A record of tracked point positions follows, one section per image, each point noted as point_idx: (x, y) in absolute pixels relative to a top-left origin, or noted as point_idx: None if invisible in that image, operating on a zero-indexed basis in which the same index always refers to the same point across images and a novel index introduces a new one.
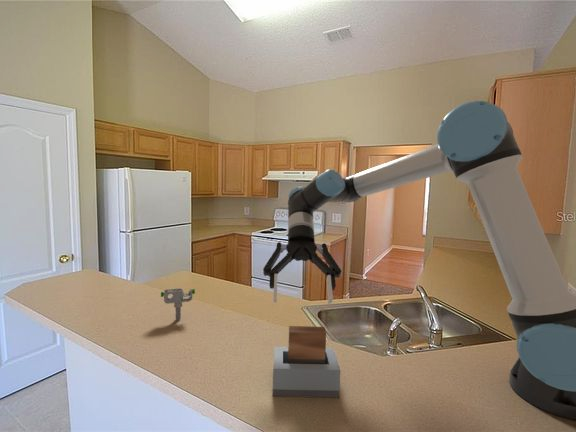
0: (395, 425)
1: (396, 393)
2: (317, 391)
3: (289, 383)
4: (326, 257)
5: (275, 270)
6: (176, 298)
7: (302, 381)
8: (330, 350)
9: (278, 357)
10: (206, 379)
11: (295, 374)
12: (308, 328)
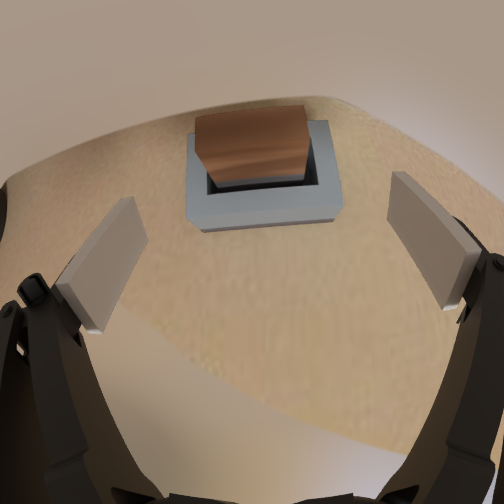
0: (141, 125)
1: (111, 188)
2: None
3: None
4: (12, 441)
5: (491, 272)
6: None
7: None
8: (194, 204)
9: (325, 157)
10: (439, 186)
11: None
12: (246, 131)
